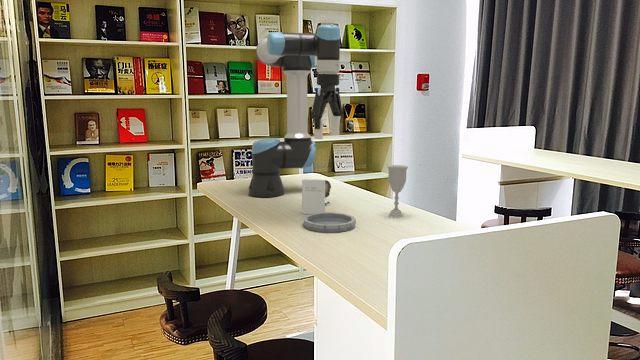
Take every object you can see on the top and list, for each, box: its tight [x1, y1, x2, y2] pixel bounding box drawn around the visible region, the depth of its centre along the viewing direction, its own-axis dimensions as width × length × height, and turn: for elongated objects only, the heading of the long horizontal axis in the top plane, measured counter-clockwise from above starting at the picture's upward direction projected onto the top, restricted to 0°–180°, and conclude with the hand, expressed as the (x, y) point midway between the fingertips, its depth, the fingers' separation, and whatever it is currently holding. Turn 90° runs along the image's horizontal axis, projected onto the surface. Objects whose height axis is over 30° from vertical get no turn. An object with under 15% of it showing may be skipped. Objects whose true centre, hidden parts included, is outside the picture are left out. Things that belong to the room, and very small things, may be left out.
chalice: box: [387, 164, 409, 219], centre depth 187 cm, size 7×7×18 cm
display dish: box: [302, 212, 357, 234], centre depth 176 cm, size 17×17×2 cm
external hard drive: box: [301, 178, 326, 215], centre depth 191 cm, size 2×8×12 cm, turn 83°
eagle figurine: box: [324, 179, 332, 205], centre depth 207 cm, size 8×7×9 cm
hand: (327, 136), depth 181 cm, fingers open, 13 cm apart
